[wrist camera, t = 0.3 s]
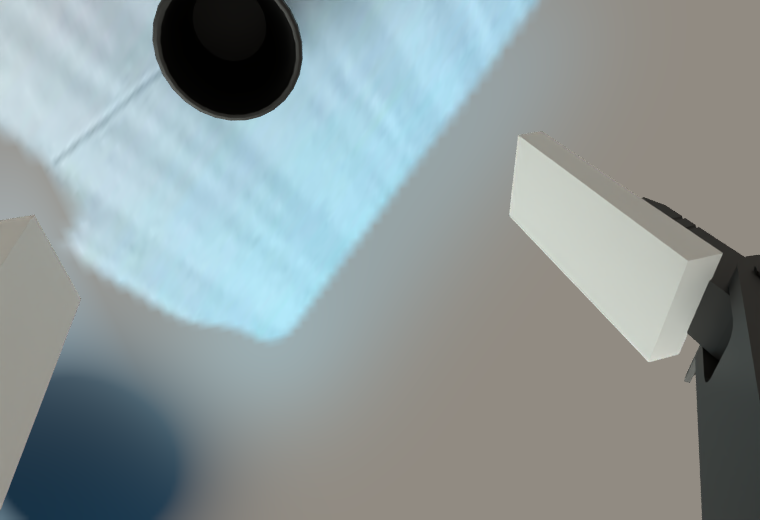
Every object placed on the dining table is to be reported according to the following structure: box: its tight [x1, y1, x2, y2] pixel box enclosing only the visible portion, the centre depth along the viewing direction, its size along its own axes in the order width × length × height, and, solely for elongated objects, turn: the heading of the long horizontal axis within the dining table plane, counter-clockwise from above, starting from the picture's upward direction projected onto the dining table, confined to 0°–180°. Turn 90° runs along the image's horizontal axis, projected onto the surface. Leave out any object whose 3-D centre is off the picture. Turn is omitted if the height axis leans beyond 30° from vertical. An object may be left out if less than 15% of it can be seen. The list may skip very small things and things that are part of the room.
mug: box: [153, 0, 303, 120], centre depth 30 cm, size 8×12×10 cm
